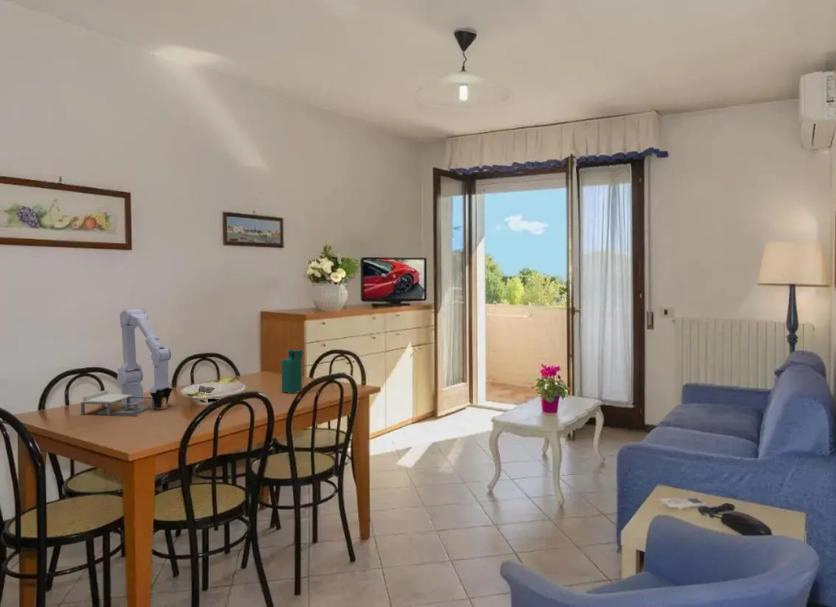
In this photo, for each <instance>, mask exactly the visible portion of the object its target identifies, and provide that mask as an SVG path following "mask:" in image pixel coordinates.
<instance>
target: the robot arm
mask: <svg viewBox="0 0 836 607" xmlns="http://www.w3.org/2000/svg"><path fill="white" fill-rule="evenodd" d="M148 316H149V315H148V312H147V310H146V309H145V308H134V309H133V308H132V309H123V310H121V312H120V313H119V322H120V328H121V341H122V356H123V364H121V366H119V367H118V369H117V376H116V379H117V382H118V384H119V385H120V386H121V394H122V395H133V396H132V397H144V387H143V385H142V384H141V382H142V381H143V378H144V373H143V370H142V366H141V365H140V364H139V363H137V351H136V350H137V349H136V334H135V330H136V328H137V327H138V328H139V330H140V331H141V333H142V334H143V335H144V337H145V344H146V346H147V347H148V349H149V350H150V352H151V354H150V358H151V361H152V365H153V367H154V370H153V375H154V376H153V378H154V380H153V382H154V385H153V386H152V387H151V388H150V392H149V393H150V395H151V396H150V397H153V400H154V403H155V408H156V407H159V408H160V407H161V405H162V397H166V406H168V403H169V399H170V395H171V394H172V392H173V388H172V382H169V361H170V360H171V357H172V351H171V349H170V348H168V347H166V346H165V345H164V344H163V342H162V340H161V339H160V337H159V336H158V335H157V334H154V332H153V330H152V327H151V326H150V323H149V321H148V318H149V317H148ZM121 401H122V403H127V398H125V399H122V400H121ZM145 401H146V399H144V398H130V404H141V403H143V402H145Z"/></svg>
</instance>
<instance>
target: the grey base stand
mask: <svg viewBox="0 0 836 607" xmlns="http://www.w3.org/2000/svg"><path fill="white" fill-rule="evenodd" d="M130 398H143V399H144V400H146V399H149V400H151V409H152V410H155V409H156V406H155V403H154V400H153V397H152V396H143V397H132V396H131V397H128V398H127V403H104V402H83V401H82V402H80V415H81V416H82V415H85V413H86V410H85V408H86V406H85V405H101V408H105V409H102V410H99V411H98V412H97V415H104V416H105V415H107V416H133V417H138V415H139V414H141V413H144V412H146V411H149V410H150V406H139V405H138V404H139V403H137V404H130ZM111 405H122V410H119V411H112V410H111ZM156 410H157V409H156Z"/></svg>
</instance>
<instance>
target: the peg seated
mask: <svg viewBox="0 0 836 607" xmlns="http://www.w3.org/2000/svg"><path fill="white" fill-rule="evenodd" d="M113 403H122V400H119V401H116V402H113ZM122 406H123V405H111V410H112V411H119V410H122Z"/></svg>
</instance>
